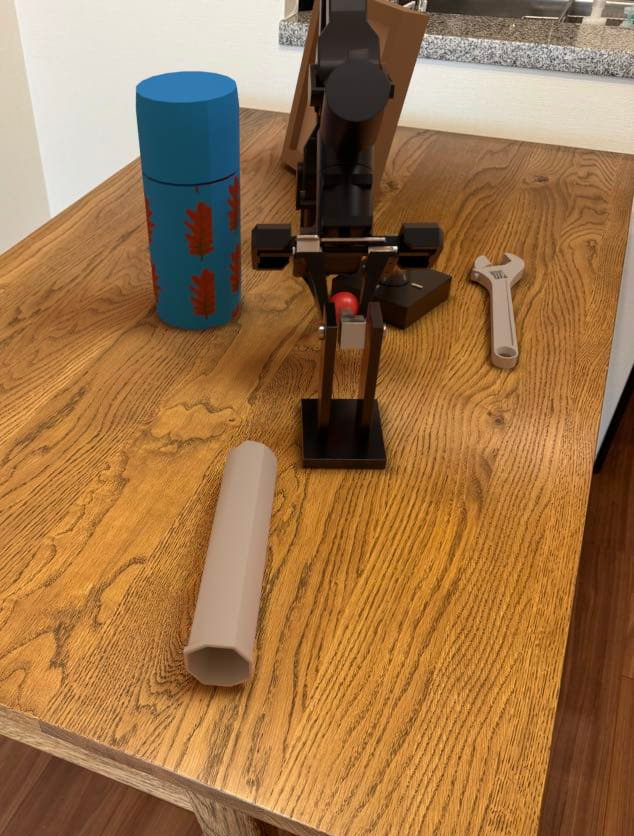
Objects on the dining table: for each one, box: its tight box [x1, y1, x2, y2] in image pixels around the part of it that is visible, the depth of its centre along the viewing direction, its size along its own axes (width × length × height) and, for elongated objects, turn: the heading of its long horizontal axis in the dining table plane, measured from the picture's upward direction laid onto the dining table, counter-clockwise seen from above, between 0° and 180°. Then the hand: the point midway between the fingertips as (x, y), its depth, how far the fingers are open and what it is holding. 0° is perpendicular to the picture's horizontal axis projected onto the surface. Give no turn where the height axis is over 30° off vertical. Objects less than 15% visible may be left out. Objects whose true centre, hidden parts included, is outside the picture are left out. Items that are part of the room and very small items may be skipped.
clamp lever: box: [329, 292, 366, 351], centre depth 75 cm, size 12×3×3 cm, turn 178°
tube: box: [182, 439, 278, 688], centre depth 66 cm, size 5×5×25 cm
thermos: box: [135, 70, 242, 331], centre depth 89 cm, size 11×11×25 cm
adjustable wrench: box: [469, 252, 526, 370], centre depth 95 cm, size 25×6×2 cm, turn 164°
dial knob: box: [379, 233, 412, 286], centre depth 94 cm, size 4×4×5 cm
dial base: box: [329, 257, 453, 331], centre depth 97 cm, size 11×10×3 cm
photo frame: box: [280, 0, 430, 207], centre depth 116 cm, size 15×22×25 cm
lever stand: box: [300, 302, 388, 470], centre depth 74 cm, size 10×8×14 cm
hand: (343, 331), depth 78 cm, fingers closed on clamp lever, 3 cm apart
